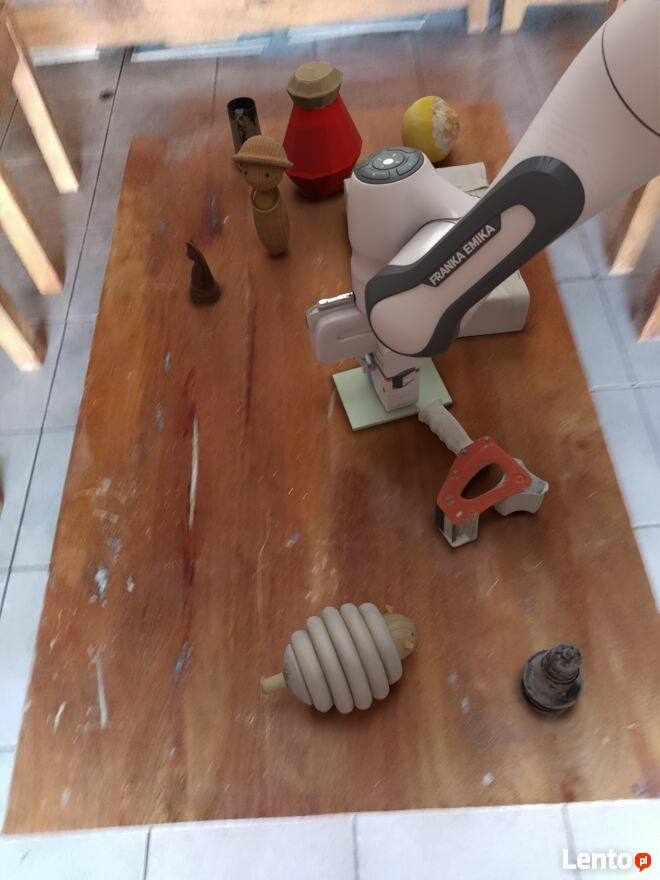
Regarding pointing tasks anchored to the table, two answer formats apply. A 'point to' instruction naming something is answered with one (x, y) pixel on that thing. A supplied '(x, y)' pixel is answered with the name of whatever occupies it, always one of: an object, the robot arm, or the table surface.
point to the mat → (368, 406)
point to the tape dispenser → (460, 513)
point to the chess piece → (201, 277)
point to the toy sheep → (345, 657)
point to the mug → (243, 121)
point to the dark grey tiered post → (553, 679)
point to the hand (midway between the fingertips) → (391, 362)
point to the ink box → (395, 378)
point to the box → (512, 295)
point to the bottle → (319, 131)
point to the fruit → (430, 127)
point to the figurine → (266, 189)
